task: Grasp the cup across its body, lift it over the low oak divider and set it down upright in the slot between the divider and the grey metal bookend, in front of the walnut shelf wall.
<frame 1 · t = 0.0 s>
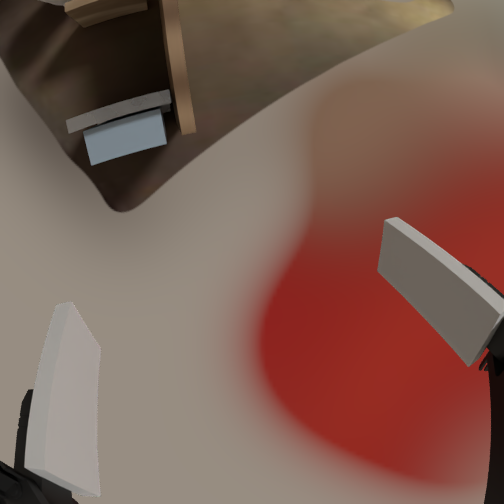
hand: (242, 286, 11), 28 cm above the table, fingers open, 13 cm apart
shelf wall: (167, 29, 25), on the table
shelved book: (135, 125, 31), on the table
bookend: (132, 106, 29), on the table
divider: (114, 13, 22), on the table
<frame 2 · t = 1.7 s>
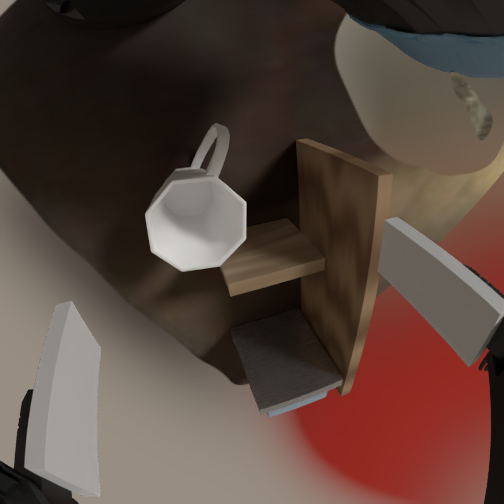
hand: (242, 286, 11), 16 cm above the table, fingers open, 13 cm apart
shelf wall: (305, 251, 32), on the table
bookend: (265, 321, 36), on the table
divider: (250, 231, 29), on the table
cup: (192, 173, 25), on the table
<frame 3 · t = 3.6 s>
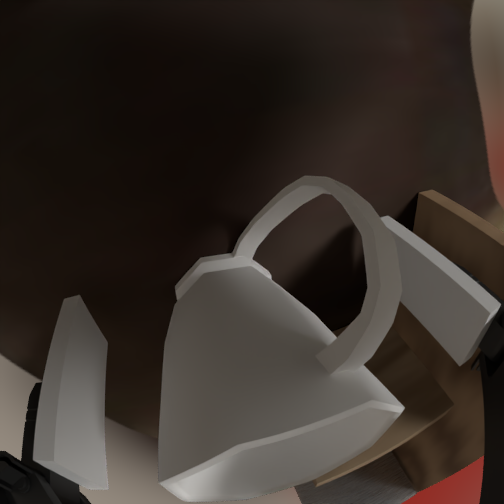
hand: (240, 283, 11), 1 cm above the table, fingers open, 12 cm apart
shelf wall: (388, 344, 20), on the table
bookend: (318, 420, 24), on the table
divider: (324, 340, 17), on the table
cup: (234, 263, 12), on the table
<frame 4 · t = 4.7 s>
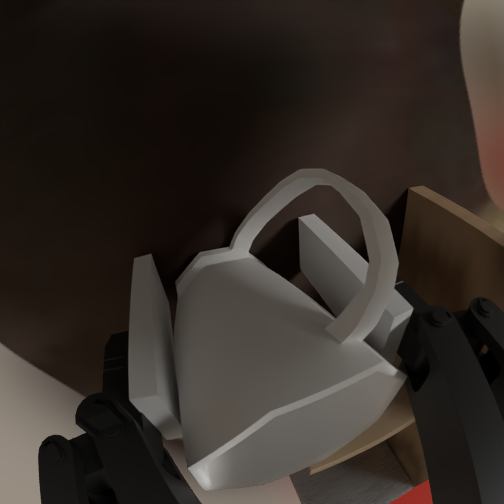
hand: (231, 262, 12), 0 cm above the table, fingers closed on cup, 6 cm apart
shelf wall: (383, 339, 21), on the table
bookend: (315, 415, 24), on the table
divider: (319, 332, 17), on the table
cup: (231, 257, 13), on the table, touching gripper
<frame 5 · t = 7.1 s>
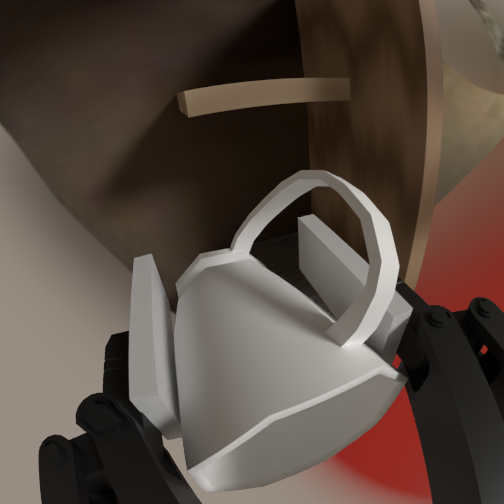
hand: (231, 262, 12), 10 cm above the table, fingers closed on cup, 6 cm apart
shelf wall: (315, 134, 21), on the table
bookend: (260, 246, 25), on the table
divider: (234, 92, 18), on the table
cup: (231, 258, 13), point 10 cm above the table, touching gripper
when the fingers open (1 cm above the table, at t = 9.4 s): cup moves 3 cm, point 1 cm above the table.
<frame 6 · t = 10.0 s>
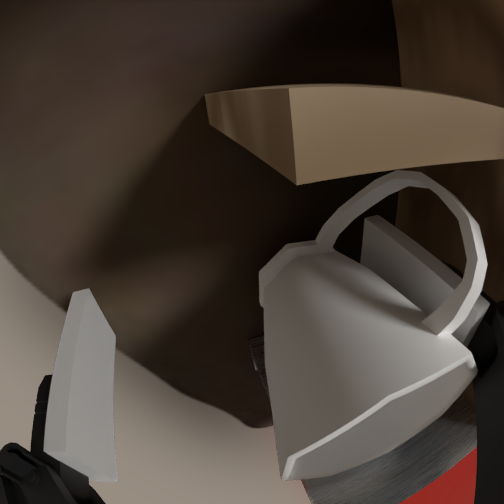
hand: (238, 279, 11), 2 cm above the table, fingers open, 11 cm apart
shelf wall: (407, 171, 14), on the table
bookend: (318, 324, 18), on the table
divider: (305, 97, 10), on the table
cup: (314, 250, 13), point 1 cm above the table, touching gripper
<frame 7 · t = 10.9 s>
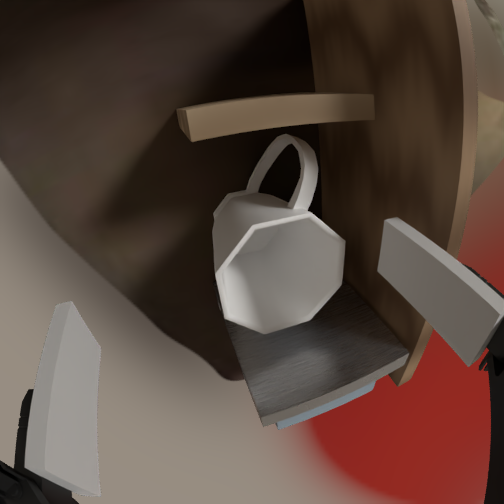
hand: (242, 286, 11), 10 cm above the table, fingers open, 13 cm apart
shelf wall: (327, 152, 20), on the table
shelved book: (270, 297, 25), on the table
bookend: (268, 273, 24), on the table
divider: (240, 106, 17), on the table
cup: (247, 197, 20), on the table
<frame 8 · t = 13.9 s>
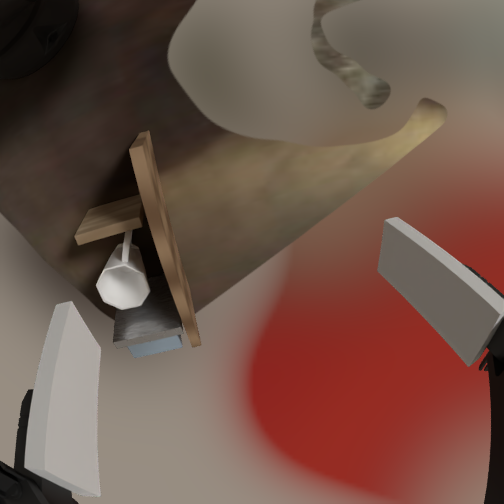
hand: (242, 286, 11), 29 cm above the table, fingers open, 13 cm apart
shelf wall: (165, 220, 39), on the table
shelved book: (151, 293, 44), on the table
bookend: (146, 281, 43), on the table
divider: (116, 205, 35), on the table
cup: (128, 245, 39), on the table
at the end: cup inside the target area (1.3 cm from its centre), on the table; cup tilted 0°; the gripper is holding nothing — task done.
